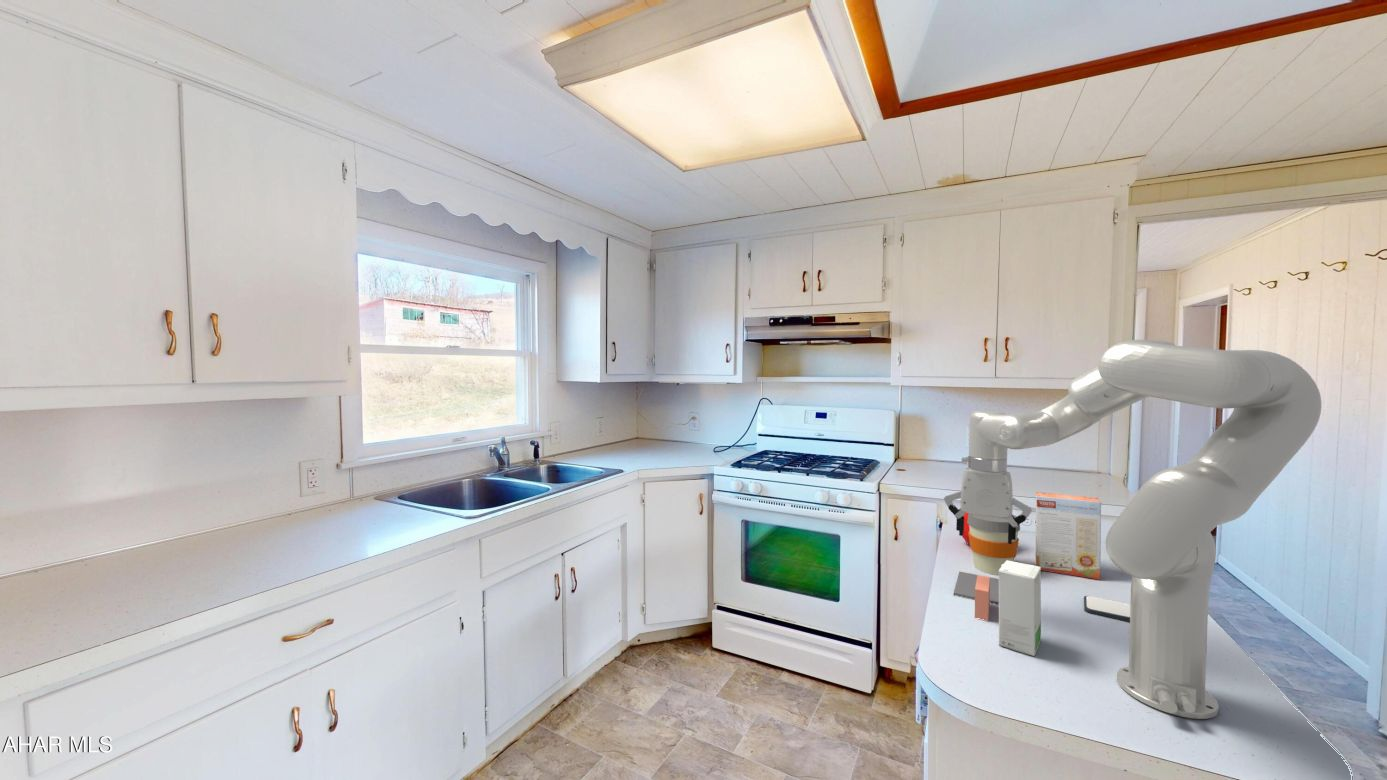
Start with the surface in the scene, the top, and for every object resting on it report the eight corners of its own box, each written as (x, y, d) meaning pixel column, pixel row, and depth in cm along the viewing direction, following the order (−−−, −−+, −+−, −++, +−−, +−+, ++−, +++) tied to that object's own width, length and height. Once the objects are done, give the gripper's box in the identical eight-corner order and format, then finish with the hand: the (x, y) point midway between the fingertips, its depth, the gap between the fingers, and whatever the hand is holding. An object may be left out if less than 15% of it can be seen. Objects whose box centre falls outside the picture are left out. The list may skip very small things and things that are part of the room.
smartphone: (1084, 615, 113) (1181, 636, 103) (1084, 608, 113) (1181, 628, 103) (1083, 600, 120) (1175, 619, 110) (1083, 594, 120) (1175, 612, 110)
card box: (988, 621, 110) (988, 591, 110) (974, 618, 112) (974, 589, 111) (989, 605, 118) (990, 577, 117) (977, 602, 119) (977, 574, 119)
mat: (1026, 610, 115) (1026, 608, 114) (953, 595, 123) (953, 592, 123) (1025, 586, 127) (1025, 583, 127) (959, 573, 135) (959, 571, 135)
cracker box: (1097, 572, 134) (1098, 496, 134) (1100, 581, 129) (1102, 502, 128) (1034, 562, 142) (1035, 490, 141) (1035, 570, 137) (1036, 495, 136)
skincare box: (1034, 657, 96) (1035, 579, 96) (995, 645, 101) (996, 570, 100) (1041, 640, 102) (1043, 566, 102) (1004, 628, 107) (1005, 558, 106)
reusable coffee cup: (1020, 581, 130) (1021, 525, 129) (965, 572, 136) (966, 518, 136) (1018, 565, 140) (1019, 513, 140) (968, 556, 147) (968, 507, 146)
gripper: (943, 463, 115) (941, 535, 116) (1033, 472, 105) (1030, 551, 106) (947, 457, 121) (945, 526, 122) (1033, 466, 111) (1030, 540, 112)
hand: (985, 538), depth 114 cm, fingers open, 9 cm apart
